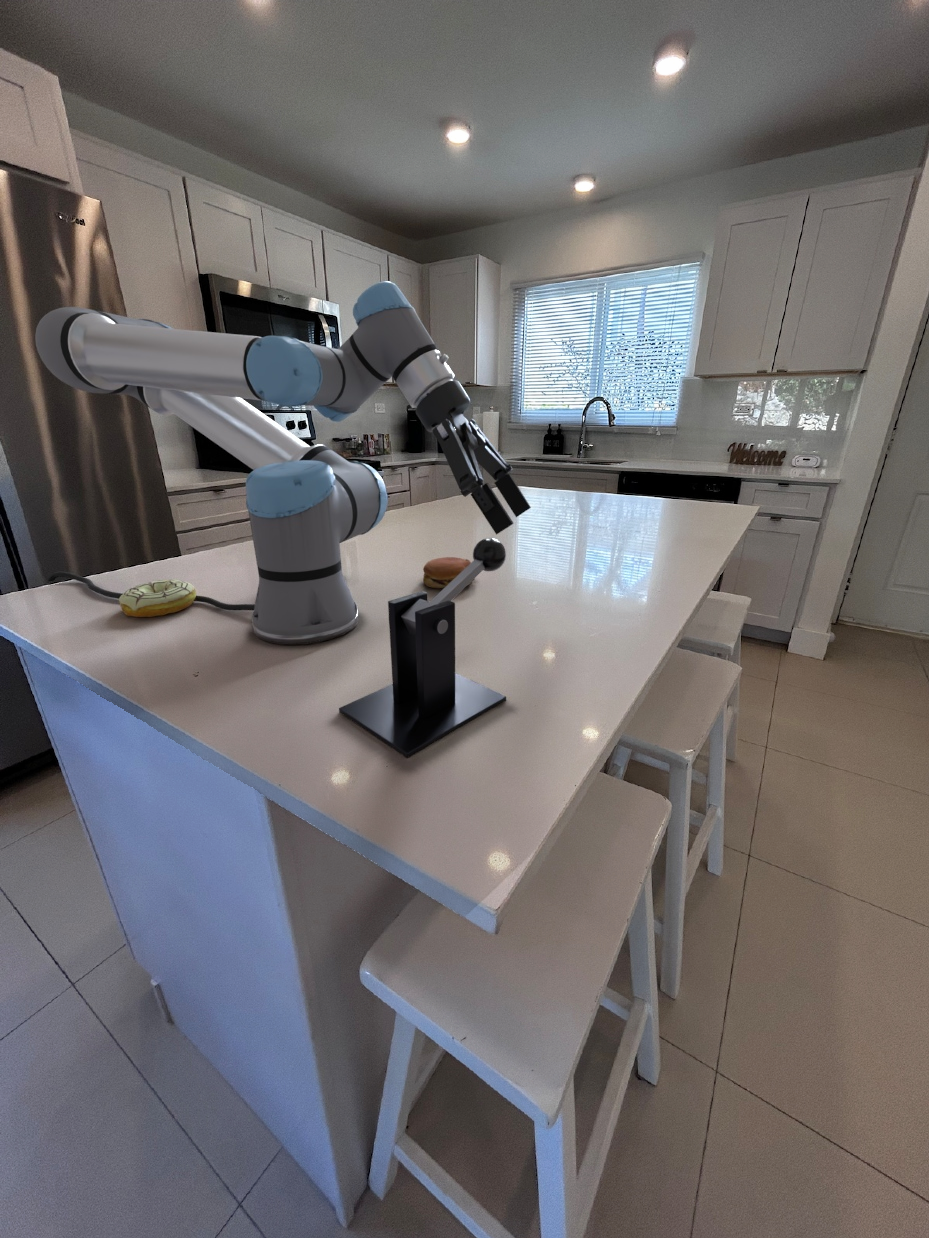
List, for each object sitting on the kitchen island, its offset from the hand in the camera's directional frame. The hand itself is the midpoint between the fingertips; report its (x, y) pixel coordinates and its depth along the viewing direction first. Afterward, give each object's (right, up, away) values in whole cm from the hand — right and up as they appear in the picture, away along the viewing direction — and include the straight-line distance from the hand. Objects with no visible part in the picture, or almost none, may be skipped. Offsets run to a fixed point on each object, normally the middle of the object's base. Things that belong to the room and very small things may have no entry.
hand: (515, 520), depth 76 cm
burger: (-11, -8, +21) cm, 25 cm away
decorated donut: (-58, -13, +8) cm, 60 cm away
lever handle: (-8, -12, -22) cm, 26 cm away
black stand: (-12, -25, -21) cm, 35 cm away
